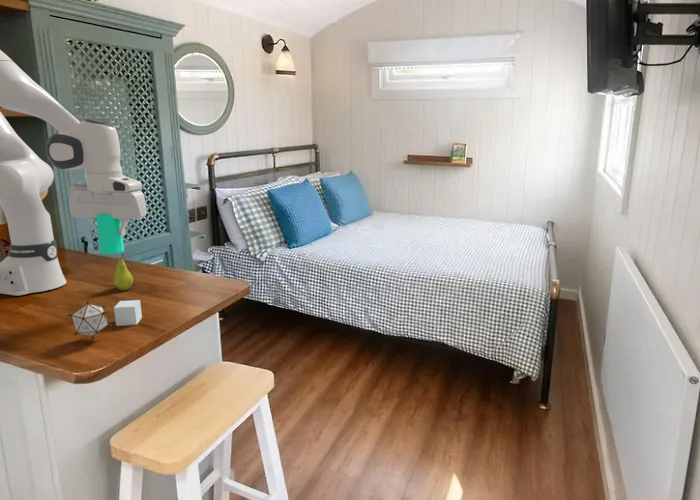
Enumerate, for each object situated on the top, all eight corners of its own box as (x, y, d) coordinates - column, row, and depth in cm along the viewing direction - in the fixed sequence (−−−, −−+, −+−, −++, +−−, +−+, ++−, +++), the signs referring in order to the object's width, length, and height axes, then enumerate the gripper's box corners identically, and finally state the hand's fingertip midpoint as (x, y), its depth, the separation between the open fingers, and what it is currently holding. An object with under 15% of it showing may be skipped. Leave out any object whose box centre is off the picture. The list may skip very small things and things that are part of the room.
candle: (114, 254, 131) (110, 210, 128) (94, 253, 132) (89, 209, 129) (128, 249, 136) (124, 206, 133) (109, 248, 137) (104, 205, 134)
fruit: (120, 287, 156) (115, 250, 153) (137, 287, 156) (133, 250, 153) (110, 293, 151) (105, 255, 148) (128, 293, 150) (124, 255, 147)
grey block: (116, 326, 125) (113, 307, 124) (122, 318, 130) (120, 301, 129) (136, 324, 126) (134, 306, 125) (142, 317, 131) (140, 300, 130)
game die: (63, 346, 114) (56, 305, 111) (87, 331, 122) (82, 293, 119) (98, 348, 112) (92, 307, 110) (120, 333, 120) (115, 294, 118)
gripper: (60, 183, 128) (67, 235, 131) (134, 185, 125) (139, 238, 129) (76, 180, 134) (82, 230, 137) (147, 182, 131) (151, 233, 135)
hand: (110, 234), depth 133 cm, fingers closed on candle, 5 cm apart
